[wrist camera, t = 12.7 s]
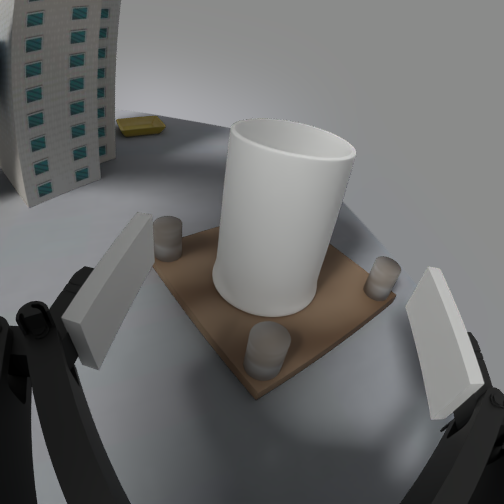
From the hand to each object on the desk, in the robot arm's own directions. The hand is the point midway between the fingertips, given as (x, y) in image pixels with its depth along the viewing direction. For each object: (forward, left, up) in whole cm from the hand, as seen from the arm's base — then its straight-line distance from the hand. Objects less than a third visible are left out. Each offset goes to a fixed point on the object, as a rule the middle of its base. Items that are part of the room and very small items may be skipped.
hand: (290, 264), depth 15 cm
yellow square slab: (-52, +12, -10) cm, 54 cm away
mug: (-6, +7, -9) cm, 13 cm away
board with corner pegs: (-7, +7, -10) cm, 13 cm away
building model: (-42, -6, -10) cm, 44 cm away
